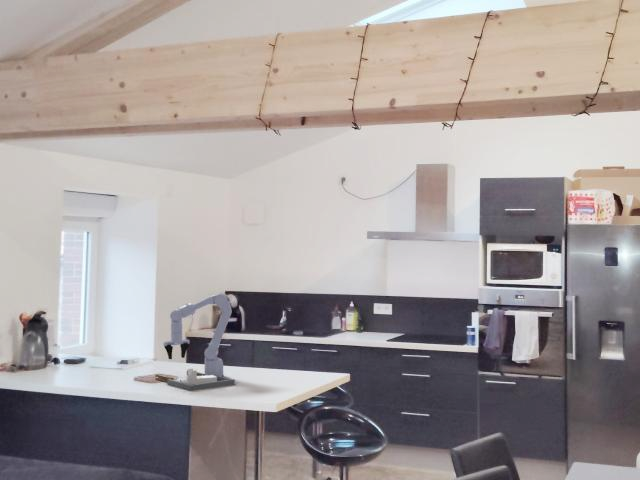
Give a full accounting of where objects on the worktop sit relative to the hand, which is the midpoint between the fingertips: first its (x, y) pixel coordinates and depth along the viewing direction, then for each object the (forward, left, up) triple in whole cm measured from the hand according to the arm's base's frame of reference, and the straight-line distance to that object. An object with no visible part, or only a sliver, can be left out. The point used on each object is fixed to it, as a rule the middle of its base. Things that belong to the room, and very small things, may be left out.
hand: (176, 358), depth 403 cm
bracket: (+1, +27, -10) cm, 29 cm away
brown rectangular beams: (+3, +9, -9) cm, 13 cm away
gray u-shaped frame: (+3, +29, -9) cm, 31 cm away
